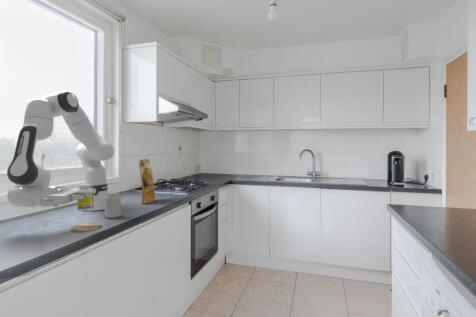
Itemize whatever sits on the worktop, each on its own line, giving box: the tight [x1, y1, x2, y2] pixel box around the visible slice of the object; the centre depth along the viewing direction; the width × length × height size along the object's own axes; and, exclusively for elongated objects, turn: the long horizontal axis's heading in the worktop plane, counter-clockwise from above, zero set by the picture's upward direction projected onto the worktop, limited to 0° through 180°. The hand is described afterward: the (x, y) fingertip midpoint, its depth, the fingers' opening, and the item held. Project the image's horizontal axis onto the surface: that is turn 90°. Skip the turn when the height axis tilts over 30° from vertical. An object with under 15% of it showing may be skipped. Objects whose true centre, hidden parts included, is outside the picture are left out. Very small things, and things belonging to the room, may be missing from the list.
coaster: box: [70, 222, 103, 233], centre depth 122 cm, size 12×12×1 cm
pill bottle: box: [76, 183, 94, 212], centre depth 121 cm, size 6×6×11 cm
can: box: [104, 192, 122, 219], centre depth 141 cm, size 8×8×12 cm
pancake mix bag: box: [138, 158, 157, 204], centre depth 179 cm, size 7×19×28 cm, turn 174°
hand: (87, 195), depth 121 cm, fingers closed on pill bottle, 6 cm apart
